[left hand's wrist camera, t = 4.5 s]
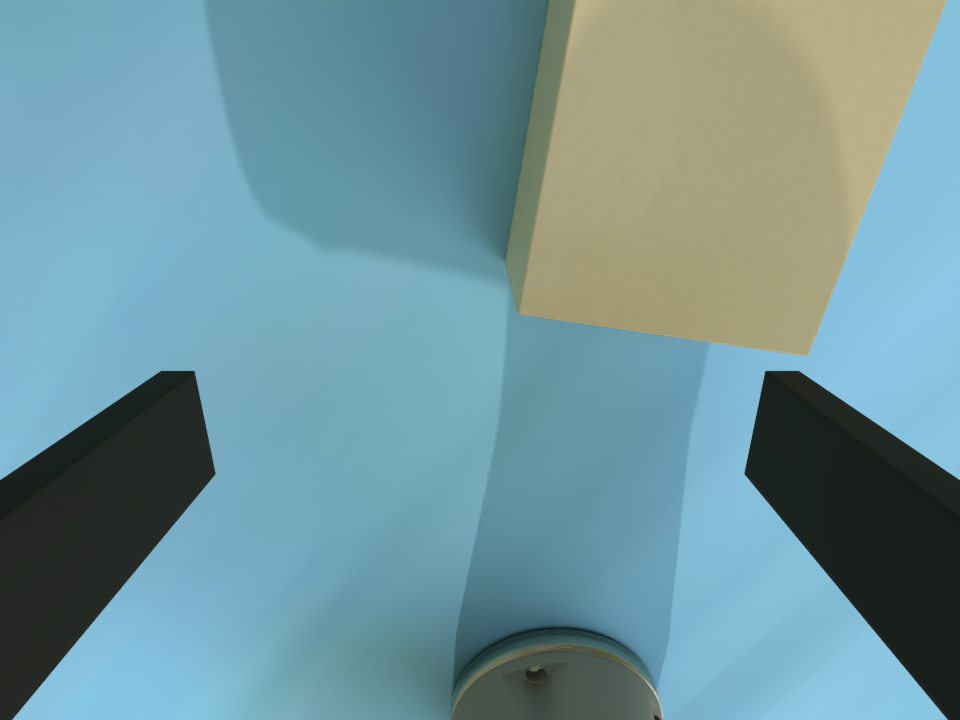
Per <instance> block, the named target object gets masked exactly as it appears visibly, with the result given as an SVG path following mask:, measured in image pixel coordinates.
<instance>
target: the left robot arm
mask: <svg viewBox="0 0 960 720" xmlns="http://www.w3.org/2000/svg"><path fill="white" fill-rule="evenodd" d="M214 475H215V469H214V464H213V459H212V454H211V449H210V444H209V439H208V435H207V430H206V425H205V420H204V415H203V410H202V405H201V400H200V396H199V391H198V386H197V381H196V376H195V371H160V372H159V373H158V374H156V375H155V376H153V377H152V378H150V379H149V380H147V381H146V382H144V383H143V384H141V385H140V386H138V387H137V388H135V389H134V390H132V391H131V392H130V393H128V394H127V395H125V396H124V397H122V398H121V399H119V400H118V401H116V402H115V403H113V404H112V405H110V406H109V407H107V408H106V409H104V410H103V411H102V412H100V413H99V414H97V415H96V416H94V417H93V418H91V419H90V420H88V421H87V422H85V423H84V424H82V425H81V426H79V427H78V428H76V429H75V430H74V431H72V432H71V433H69V434H68V435H66V436H65V437H63V438H62V439H60V440H59V441H57V442H56V443H54V444H53V445H51V446H50V447H49V448H47V449H46V450H44V451H43V452H41V453H40V454H38V455H37V456H35V457H34V458H32V459H31V460H29V461H28V462H26V463H25V464H23V465H22V466H21V467H19V468H18V469H16V470H15V471H13V472H12V473H10V474H9V475H7V476H6V477H4V478H3V479H1V480H0V720H12V719H13V718H14V717H15V716H16V714H17V713H18V712H19V711H20V710H21V708H22V707H23V706H24V705H25V704H26V702H27V701H28V700H29V699H30V698H31V696H32V695H33V694H34V693H35V691H36V690H37V689H38V688H39V687H40V685H41V684H42V683H43V682H44V681H45V679H46V678H47V677H48V676H49V675H50V673H51V672H52V671H53V670H54V669H55V667H56V666H57V665H58V664H59V662H60V661H61V660H62V659H63V658H64V656H65V655H66V654H67V653H68V652H69V650H70V649H71V648H72V647H73V646H74V644H75V643H76V642H77V641H78V640H79V638H80V637H81V636H82V635H83V634H84V632H85V631H86V630H87V629H88V627H89V626H90V625H91V624H92V623H93V621H94V620H95V619H96V618H97V617H98V615H99V614H100V613H101V612H102V611H103V609H104V608H105V607H106V606H107V605H108V603H109V602H110V601H111V600H112V598H113V597H114V596H115V595H116V594H117V592H118V591H119V590H120V589H121V588H122V586H123V585H124V584H125V583H126V582H127V580H128V579H129V578H130V577H131V576H132V574H133V573H134V572H135V571H136V569H137V568H138V567H139V566H140V565H141V563H142V562H143V561H144V560H145V559H146V557H147V556H148V555H149V554H150V553H151V551H152V550H153V549H154V548H155V547H156V545H157V544H158V543H159V542H160V541H161V539H162V538H163V537H164V536H165V534H166V533H167V532H168V531H169V530H170V528H171V527H172V526H173V525H174V524H175V522H176V521H177V520H178V519H179V518H180V516H181V515H182V514H183V513H184V512H185V510H186V509H187V508H188V507H189V505H190V504H191V503H192V502H193V501H194V499H195V498H196V497H197V496H198V495H199V493H200V492H201V491H202V490H203V489H204V487H205V486H206V485H207V484H208V483H209V481H210V480H211V479H212V478H213V476H214ZM745 475H746V476H747V478H748V479H749V480H750V481H751V483H752V484H753V485H754V486H755V487H756V489H757V490H758V491H759V492H760V493H761V495H762V496H763V497H764V498H765V499H766V501H767V502H768V503H769V504H770V505H771V507H772V508H773V509H774V510H775V512H776V513H777V514H778V515H779V516H780V518H781V519H782V520H783V521H784V522H785V524H786V525H787V526H788V527H789V528H790V530H791V531H792V532H793V533H794V534H795V536H796V537H797V538H798V539H799V541H800V542H801V543H802V544H803V545H804V547H805V548H806V549H807V550H808V551H809V553H810V554H811V555H812V556H813V557H814V559H815V560H816V561H817V562H818V563H819V565H820V566H821V567H822V568H823V569H824V571H825V572H826V573H827V574H828V576H829V577H830V578H831V579H832V580H833V582H834V583H835V584H836V585H837V586H838V588H839V589H840V590H841V591H842V592H843V594H844V595H845V596H846V597H847V598H848V600H849V601H850V602H851V603H852V605H853V606H854V607H855V608H856V609H857V611H858V612H859V613H860V614H861V615H862V617H863V618H864V619H865V620H866V621H867V623H868V624H869V625H870V626H871V627H872V629H873V630H874V631H875V632H876V634H877V635H878V636H879V637H880V638H881V640H882V641H883V642H884V643H885V644H886V646H887V647H888V648H889V649H890V650H891V652H892V653H893V654H894V655H895V656H896V658H897V659H898V660H899V661H900V662H901V664H902V665H903V666H904V667H905V669H906V670H907V671H908V672H909V673H910V675H911V676H912V677H913V678H914V679H915V681H916V682H917V683H918V684H919V685H920V687H921V688H922V689H923V690H924V691H925V693H926V694H927V695H928V696H929V698H930V699H931V700H932V701H933V702H934V704H935V705H936V706H937V707H938V708H939V710H940V711H941V712H942V713H943V714H944V716H945V717H946V718H947V719H948V720H960V480H959V479H957V478H956V477H954V476H953V475H951V474H950V473H948V472H947V471H945V470H944V469H942V468H941V467H939V466H938V465H937V464H935V463H934V462H932V461H931V460H929V459H928V458H926V457H925V456H923V455H922V454H920V453H919V452H917V451H916V450H914V449H913V448H912V447H910V446H909V445H907V444H906V443H904V442H903V441H901V440H900V439H898V438H897V437H895V436H894V435H892V434H891V433H889V432H888V431H886V430H885V429H884V428H882V427H881V426H879V425H878V424H876V423H875V422H873V421H872V420H870V419H869V418H867V417H866V416H864V415H863V414H861V413H860V412H858V411H857V410H856V409H854V408H853V407H851V406H850V405H848V404H847V403H845V402H844V401H842V400H841V399H839V398H838V397H836V396H835V395H833V394H832V393H830V392H829V391H828V390H826V389H825V388H823V387H822V386H820V385H819V384H817V383H816V382H814V381H813V380H811V379H810V378H808V377H807V376H805V375H804V374H802V373H801V372H800V371H765V376H764V381H763V386H762V391H761V396H760V400H759V405H758V410H757V415H756V420H755V425H754V430H753V435H752V439H751V444H750V449H749V454H748V459H747V464H746V469H745ZM451 720H663V713H662V708H661V704H660V701H659V698H658V695H657V692H656V689H655V686H654V683H653V680H652V678H651V676H650V673H649V672H648V670H647V668H646V667H645V665H644V664H643V663H642V662H641V660H640V659H639V658H638V657H637V656H636V655H634V654H633V653H632V652H631V651H629V650H628V649H627V648H625V647H624V646H622V645H620V644H619V643H617V642H615V641H613V640H611V639H608V638H606V637H603V636H600V635H597V634H593V633H589V632H584V631H578V630H569V629H548V630H539V631H533V632H528V633H524V634H520V635H517V636H514V637H511V638H508V639H506V640H503V641H501V642H499V643H497V644H495V645H493V646H491V647H490V648H488V649H487V650H485V651H484V652H482V653H481V654H480V655H478V656H477V657H476V658H475V659H474V660H473V661H472V662H471V663H470V664H469V665H468V666H467V667H466V668H465V670H464V671H463V672H462V674H461V675H460V677H459V679H458V681H457V683H456V686H455V688H454V692H453V696H452V708H451Z"/></svg>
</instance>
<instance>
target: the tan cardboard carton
mask: <svg viewBox="0 0 960 720" xmlns="http://www.w3.org/2000/svg"><path fill="white" fill-rule="evenodd" d="M945 3H946V0H549V4H548V10H547V16H546V22H545V27H544V33H543V39H542V45H541V51H540V57H539V63H538V69H537V75H536V81H535V87H534V93H533V99H532V105H531V111H530V117H529V123H528V129H527V135H526V141H525V146H524V152H523V158H522V164H521V170H520V176H519V182H518V188H517V194H516V200H515V206H514V212H513V218H512V224H511V230H510V236H509V242H508V248H507V254H506V260H505V265H506V269H507V273H508V277H509V281H510V285H511V289H512V293H513V297H514V301H515V305H516V308H517V312H518V314H520V315H527V316H534V317H541V318H548V319H554V320H561V321H568V322H575V323H582V324H588V325H595V326H602V327H609V328H616V329H623V330H629V331H636V332H643V333H650V334H657V335H663V336H670V337H677V338H684V339H691V340H697V341H704V342H711V343H718V344H725V345H732V346H738V347H745V348H752V349H759V350H766V351H772V352H779V353H786V354H793V355H800V356H808V355H809V352H810V350H811V347H812V344H813V342H814V339H815V337H816V334H817V332H818V329H819V326H820V324H821V321H822V319H823V316H824V314H825V311H826V308H827V306H828V303H829V301H830V298H831V296H832V293H833V290H834V288H835V285H836V283H837V280H838V278H839V275H840V272H841V270H842V267H843V265H844V262H845V260H846V257H847V255H848V252H849V249H850V247H851V244H852V242H853V239H854V237H855V234H856V231H857V229H858V226H859V224H860V221H861V219H862V216H863V213H864V211H865V208H866V206H867V203H868V201H869V198H870V195H871V193H872V190H873V188H874V185H875V183H876V180H877V178H878V175H879V172H880V170H881V167H882V165H883V162H884V160H885V157H886V154H887V152H888V149H889V147H890V144H891V142H892V139H893V136H894V134H895V131H896V129H897V126H898V124H899V121H900V118H901V116H902V113H903V111H904V108H905V106H906V103H907V101H908V98H909V95H910V93H911V90H912V88H913V85H914V83H915V80H916V77H917V75H918V72H919V70H920V67H921V65H922V62H923V59H924V57H925V54H926V52H927V49H928V47H929V44H930V41H931V39H932V36H933V34H934V31H935V29H936V26H937V23H938V21H939V18H940V16H941V13H942V11H943V8H944V6H945Z"/></svg>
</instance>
